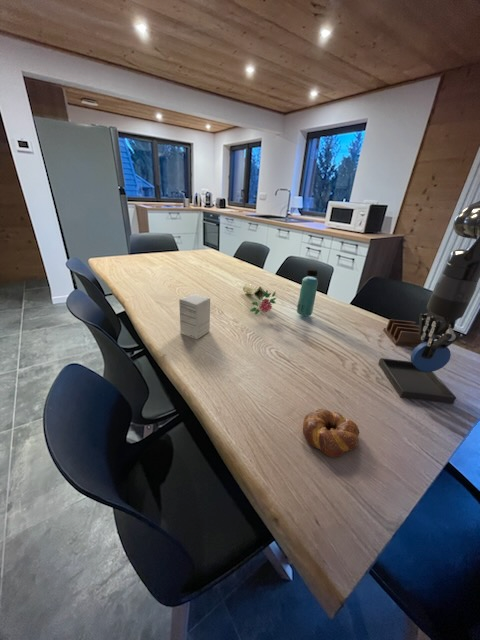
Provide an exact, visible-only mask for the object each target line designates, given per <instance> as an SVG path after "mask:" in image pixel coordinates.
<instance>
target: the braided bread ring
mask: <svg viewBox="0 0 480 640" xmlns="http://www.w3.org/2000/svg"><path fill="white" fill-rule="evenodd" d="M302 422H303V423H302V434H303V437H304V439H305V440H306V442H307V443H308V444H309V445H311V446H312V447H314V448H317V449H318V450H320V451H321V452H322V453H323V454H324V455H326V456H328V457H331V458H337V457H340V456H342V455H343V454H344V453H346V452H348V451H349V450H351V451H353V450H355V449H356V448H357V447H358V444H359V436H360V434H361V433H360V432H361V431H360V429H359V427H358V425H357V423H356V422H354V421H353V420H351V419H349V418H345V417H344V416H343V415H342V414H341V413H339V412H336V411H331V410H329V409H325V408H319V409H317V410H315V411H311V412H310V413H308V414H306V415H305V417H304V419H303V421H302Z"/></svg>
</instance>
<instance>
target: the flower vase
mask: <svg viewBox="0 0 480 640" xmlns="http://www.w3.org/2000/svg"><path fill="white" fill-rule="evenodd" d="M242 291H243V292H244V293H245V294H248V295H252V296H254V297H255V298H256V299H257V300H258V301H259V303H258V301H252V302H251V304H252V305H253V306H254V307H252V308H251V309H250V310H249V312H251V313H253V312H254V315H258V314H259V313H260V312H262V313H268V312H270V311H271V310H272V308H273V306H272V305H273V304H276V303H277V302H276V301H275V300H276V299H277V297H275V296H276V291H274V292H273V293H270V292H268V290H264V289H263V288H262V286H256V287H255V286H253V284H251V283H246V284H244V285H243V287H242ZM272 297H273V298H272ZM255 306H256V307H255ZM257 307H258V308H257Z"/></svg>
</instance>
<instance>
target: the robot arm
mask: <svg viewBox="0 0 480 640" xmlns="http://www.w3.org/2000/svg"><path fill="white" fill-rule="evenodd" d="M452 224H453V225H452V226H453V231H454V232H455V234H456V235H457V236H459V237H461V238H465V239H471V240H474V242H473V243H472V244H471V245H470V246H469V247H468V248H467V249H465V248H464V249H463V248H462V249H455V250H453V251H451V253H450V254H449V256H448V258H447V259H446V262H445V265H444V267H443V270H442V272H441V274H440V276H439V277H438V278H437V280H436V283H435V285H434V288H433V290H432V292H431V294H430V297H429V300H428V302H427V305H426V310H427V312H426V313H420V314H419V316H418V326H419V332H418V334H419V335H421V340H422V341H421V343H423V342H426V341H428V343H427V345H426V348H425V350H424V352H423V354H422V357H423V358H425V359H431V358H432V357H433V355H434V353H435V351H436V349H437V348H439V349H445V348H446V347H448V348H449V346H451V345H453V344H454V343H455V342H456V341H458V340H459V339H460V335H459V334H457V333H455V331H454V329H455V328H456V327H455V326H456V325H455V324H456V321H457V320H459V319H461V318H463V317H464V315H465V313H466V311H467V308H468V306H469V305H470V303H471V300H473V299H472V298H473V297H474V294H475V292H476V290H477V288H478V287H477V286H478V284H479V281H480V200H479V201H476V202H474V203H471V204H470V205H468V206H466V207H465V208H463V209H462V210H461V211H460V212H459V213H458V214H457V216H456V217H455V218H454V221H453V223H452ZM434 341H436V342H434Z"/></svg>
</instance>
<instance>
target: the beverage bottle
mask: <svg viewBox="0 0 480 640" xmlns="http://www.w3.org/2000/svg"><path fill="white" fill-rule="evenodd" d="M305 275H307V276H305V277H303V278H302V280H301V285H300V286H301V287H300V289H299V290H300V291H299V298H298V302H297V306H296V307H297V308H296V313H297V314H298V315H300V316H303V317H310V316H312V315H313V312H314V310H313V309H314V307H315V301H316V295H317V290H318V286H319V285H318V284H319V280H318V279H317V278H316V277H317V276H318V270H317V269H315V268H307V269H306V273H305Z"/></svg>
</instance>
